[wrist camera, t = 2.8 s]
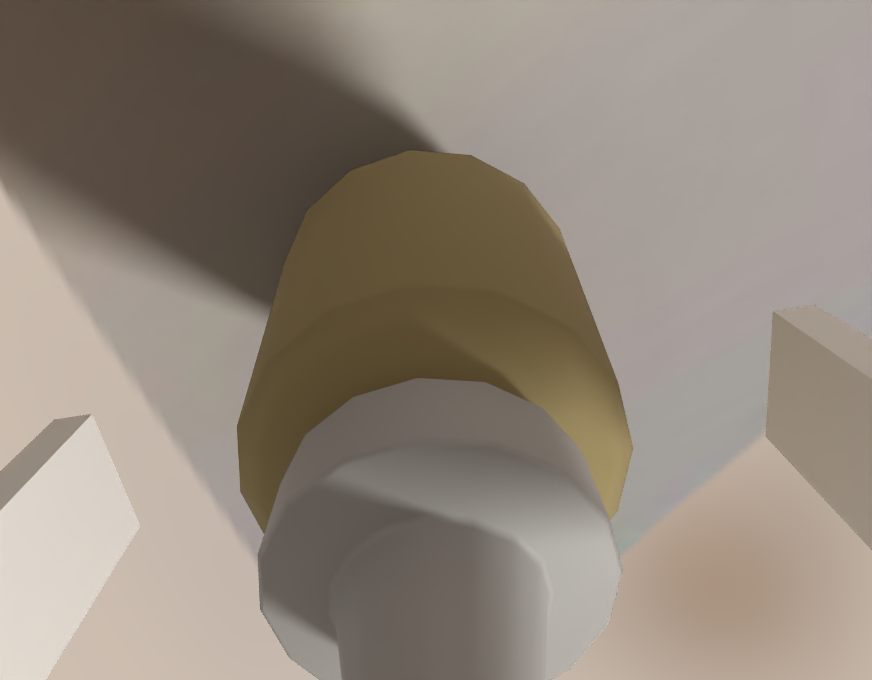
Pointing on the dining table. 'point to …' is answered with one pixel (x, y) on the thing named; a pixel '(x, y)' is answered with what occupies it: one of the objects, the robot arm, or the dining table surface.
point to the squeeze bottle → (433, 434)
